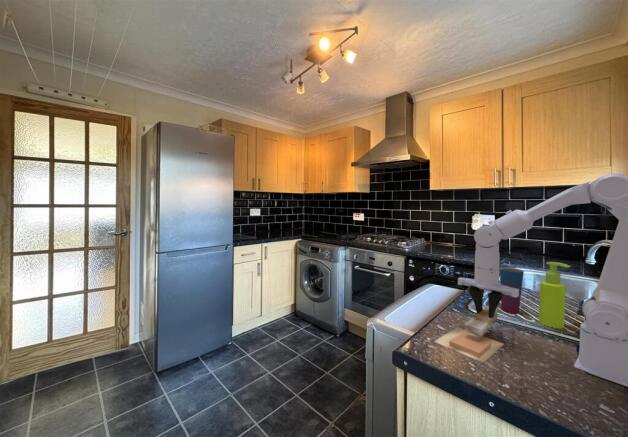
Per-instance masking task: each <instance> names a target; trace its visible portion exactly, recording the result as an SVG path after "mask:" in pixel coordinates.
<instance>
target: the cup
mask: <svg viewBox="0 0 628 437" xmlns="http://www.w3.org/2000/svg"><path fill="white" fill-rule="evenodd" d="M524 272H525V271H524V270H522V269H519V268H516V267H499V282H500V283H499V284H501V285H505V286H508V287H512V288H516V289H519V296H518V297H517V298H516V297H512V296H510V295H505V294H504V296H503V297H502V299H501V300H500V303H501V304H500V305H501V307H500V308H501V310H502V311H503V312H505V313H509V314H514V315H515V314H516V315H517V314H519V313H520V307H521V297H522V290H523V289H522V288H523V282H524V281H523V280H524Z"/></svg>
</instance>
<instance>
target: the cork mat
mask: <svg viewBox="0 0 628 437" xmlns="http://www.w3.org/2000/svg"><path fill="white" fill-rule="evenodd" d="M461 333H466V334H469V335H472V336H474V337H477V338H480V339H483V340H485V341H488V342H491V347H490V348H489V349H488V350H487V351H486V352H484V353H483V354H482V355H481V356H480V357H476V356H474V355H471V354H469V353H467V352H464V351H462V350H459V349H457V348H455V347H452V346H450V345H449V341H450V340H452V339H453V338H455V337H456V336H458V335H459V334H461ZM433 342H434V343H436V344H438V345H440V346H444V347H446V348H448V349H450V350H452V351H455V352H457V353H459V354H461V355H464V356H466V357H469V358H472V359H474V360H476V361H478V362H481V363H483V364H484V363H485V362H487V360H488V359H490V358H491V357H492V356H493V355H495V354H496V352H497V351H499V350H500V349H501V348H502V347H503V346H504V345H505V343H502V342H501V341H497V340H495V339H492V338H488V337H486V336H484V335H483V336H482V337H479V336H477V335H474V334H471V333H468V332H465V328H464V329H463V328H460V327H458V326H456V327H455V328H454V329H452V330H451V331H449V332H448V333H446V334H444V335H442V336H440V337H439V338H437V339H436V340H434V341H433Z"/></svg>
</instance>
